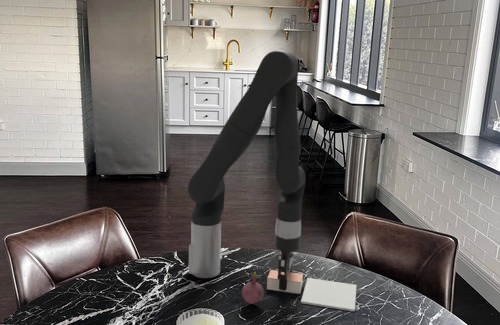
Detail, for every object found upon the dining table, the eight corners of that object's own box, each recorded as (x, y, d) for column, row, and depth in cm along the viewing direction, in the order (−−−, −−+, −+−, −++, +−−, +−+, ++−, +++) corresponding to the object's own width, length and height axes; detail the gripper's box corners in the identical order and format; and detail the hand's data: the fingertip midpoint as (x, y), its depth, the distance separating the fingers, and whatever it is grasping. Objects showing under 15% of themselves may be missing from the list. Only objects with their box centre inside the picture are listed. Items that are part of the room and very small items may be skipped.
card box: (266, 289, 143) (267, 277, 142) (270, 281, 149) (270, 269, 148) (300, 294, 141) (301, 282, 140) (302, 286, 147) (303, 273, 146)
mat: (300, 303, 136) (300, 301, 136) (307, 279, 150) (307, 277, 150) (354, 311, 133) (354, 309, 132) (356, 286, 147) (356, 284, 147)
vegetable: (259, 312, 130) (260, 278, 128) (238, 307, 132) (239, 274, 130) (265, 301, 136) (267, 269, 134) (245, 297, 138) (246, 265, 136)
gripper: (279, 223, 148) (277, 271, 152) (270, 239, 135) (268, 292, 139) (303, 225, 147) (300, 274, 150) (297, 243, 133) (293, 296, 137)
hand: (285, 283), depth 145 cm, fingers open, 8 cm apart
